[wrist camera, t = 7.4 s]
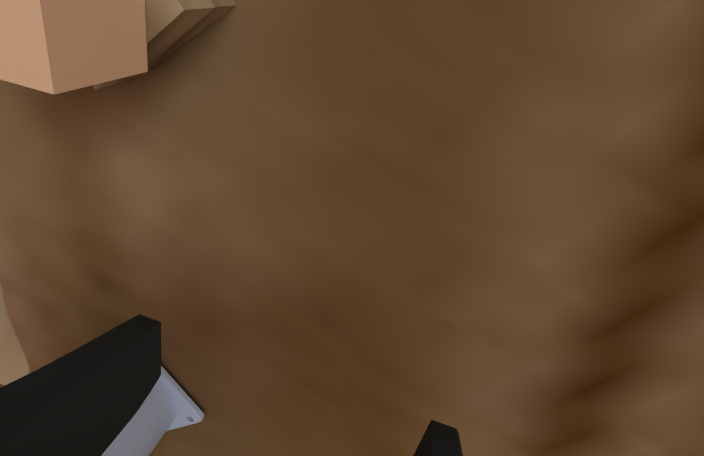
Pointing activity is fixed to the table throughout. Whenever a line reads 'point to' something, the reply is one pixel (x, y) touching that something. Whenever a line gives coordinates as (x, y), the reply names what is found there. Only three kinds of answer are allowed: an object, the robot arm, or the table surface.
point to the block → (71, 42)
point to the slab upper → (166, 26)
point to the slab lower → (196, 29)
